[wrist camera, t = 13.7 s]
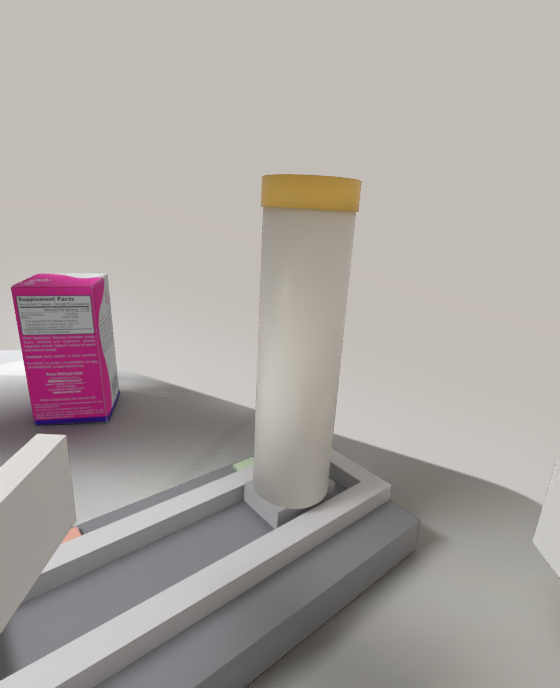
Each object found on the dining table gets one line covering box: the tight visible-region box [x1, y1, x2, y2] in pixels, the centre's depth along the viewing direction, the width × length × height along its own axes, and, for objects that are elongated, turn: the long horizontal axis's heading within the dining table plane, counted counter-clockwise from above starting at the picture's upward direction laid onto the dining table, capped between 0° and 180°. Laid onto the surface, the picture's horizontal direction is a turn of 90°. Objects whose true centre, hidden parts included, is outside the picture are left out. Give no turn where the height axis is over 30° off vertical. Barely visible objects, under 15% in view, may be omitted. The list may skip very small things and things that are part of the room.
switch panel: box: [0, 448, 420, 688], centre depth 20 cm, size 20×10×3 cm, turn 129°
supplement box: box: [11, 273, 120, 425], centre depth 34 cm, size 6×6×12 cm
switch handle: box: [244, 174, 361, 529], centre depth 20 cm, size 4×4×16 cm
